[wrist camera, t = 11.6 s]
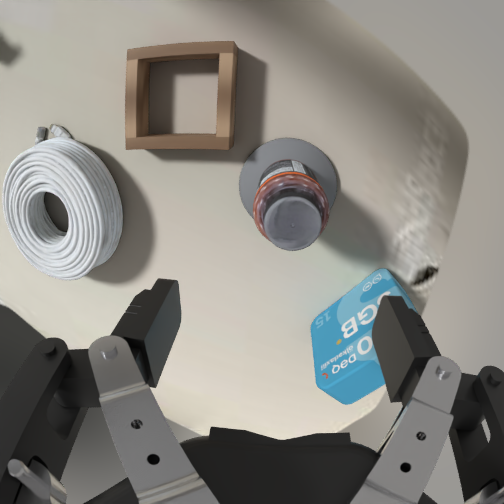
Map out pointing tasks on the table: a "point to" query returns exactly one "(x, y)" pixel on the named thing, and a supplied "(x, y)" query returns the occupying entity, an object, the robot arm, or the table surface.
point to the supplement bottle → (290, 205)
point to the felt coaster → (282, 151)
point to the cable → (74, 198)
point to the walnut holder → (139, 95)
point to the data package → (352, 339)
